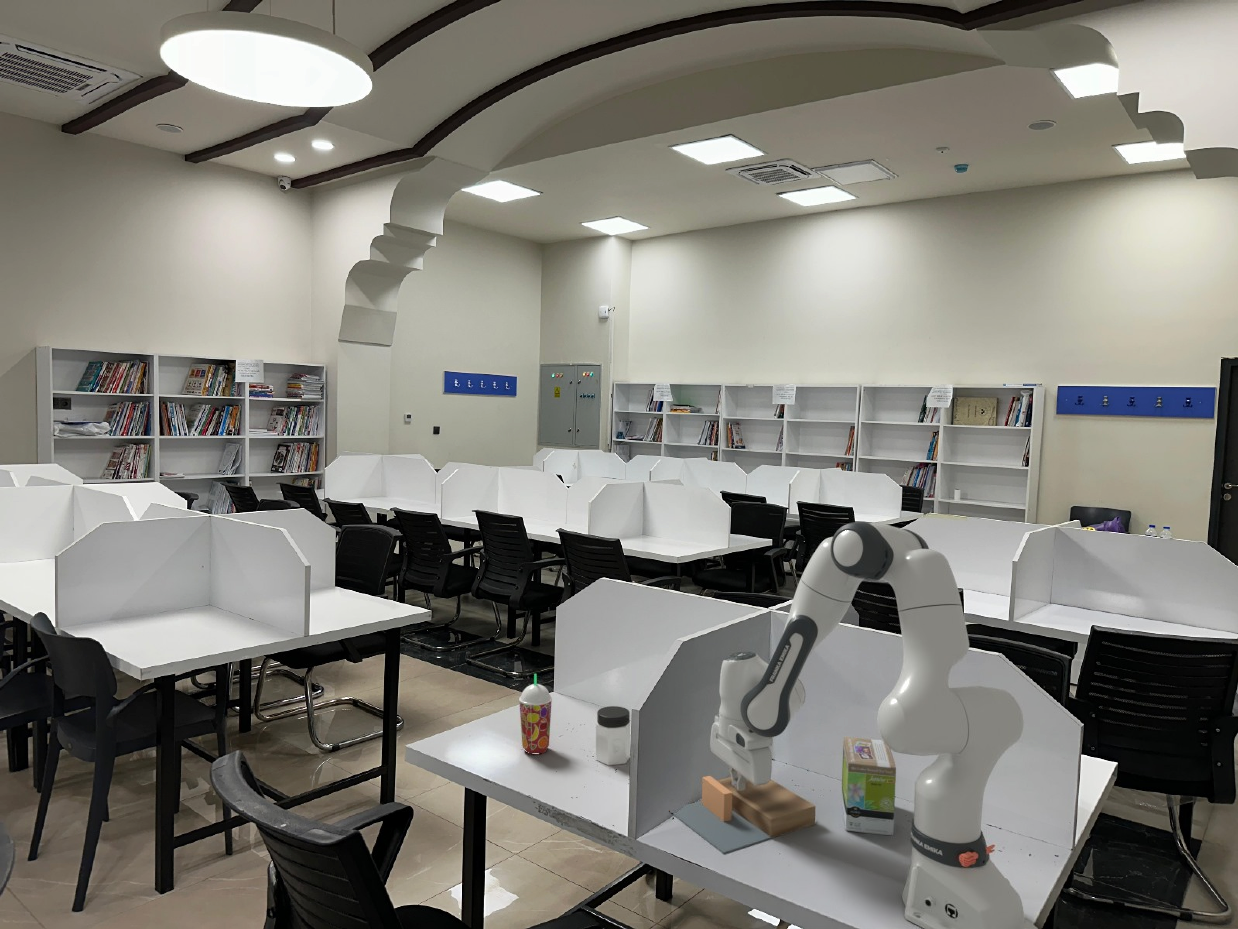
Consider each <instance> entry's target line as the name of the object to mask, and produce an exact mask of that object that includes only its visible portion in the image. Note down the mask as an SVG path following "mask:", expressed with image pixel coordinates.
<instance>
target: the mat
mask: <svg viewBox="0 0 1238 929" xmlns="http://www.w3.org/2000/svg"><path fill="white" fill-rule="evenodd" d="M685 805H686V806H685ZM685 805H683V806H684V807H683V808H682V809H681V810H679V811H678V812H677V813H674V815H675V816H674V815H673V816H674V817H675V818H677V820H679V821H680V822H682V823H683V824H684V825H685V826H686V827H687V828H690V829H691V830H692V831H694V833H696V834H697V835H699V836H700V837H701V838H702V839H703V840H705V841H706V842H707V843H709V844H710V845H711V846H713V847H714V848H716V850H718V852H720V853H722V854H723V855H724V854H728V853H730V852H734V851H736V850H740V849H743V848H746V847H750V846H752V845H755V844H759V843H761V842H765V841H768V840H770V839H772V838H771V837H770V836H769V835H767V834H766V833H764V832H763V831H761V830H760V829H758V828H757V827H755V826H754V825H753V824H751V823H750V822H748V821H747V820H745V819H744V818H742V817H741V816H739V815H738V814H737V813H735V812H734V811H732V820H729V821H725V822H723V821H722V820H721V819H720V818H718V817H717V816H716V815H715V814H714V813H712V812H711V811H710V810H709V809H708V808H706V807H705V806H704V805H703V804H702V800H700V801H699V800H698V801H696V802H693V803H688V804H685Z"/></svg>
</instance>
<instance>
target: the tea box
mask: <svg viewBox="0 0 1238 929" xmlns="http://www.w3.org/2000/svg"><path fill="white" fill-rule="evenodd" d="M842 743H843V745H842V747H843V748H842V772H841V773H842V774H841V776H842V777H841V803H842V810H843V811H842V812H843V820H844V827H845V831H850V832H855V833H856V832H858V833H863V834H865V833H866V834H873V835H883V836H893V835H894V832H895V831H894V826H895V802H896V782H897V781H896V779H897V768H896V764H895V763H896V762H895V760H894V759H895V758H894V756H893V753H892V749H890V748H889V747H888V746H887V744H886V743H885V742H884V740H883V739H882V740H881V739H873V738H872V739H871V738H870V739H869V738H862V737H861V738H860V737H848V736H844V737H843V742H842Z"/></svg>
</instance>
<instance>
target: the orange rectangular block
mask: <svg viewBox="0 0 1238 929" xmlns="http://www.w3.org/2000/svg"><path fill="white" fill-rule="evenodd" d="M701 779H702V780H701V801H702V804H703V805H704V806H705V807H706V808H708V809H709V810H710V811H711V812H712V813H714V814H715V815H716V816H717V817H718V818H720V819H721V820H722V821H723V822H725V821H729V820H732V792H731V791H729V790H728V789H727V788H726V787H724V786H723V785H722V784H720V783H719V782H718V781H717V780H716V779H715V778H714V777H712V776H711V775H707V776H703V777H702V778H701Z"/></svg>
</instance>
